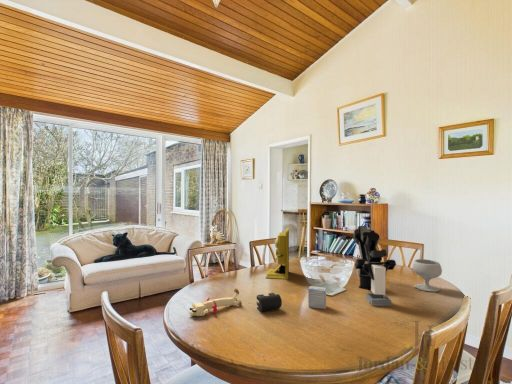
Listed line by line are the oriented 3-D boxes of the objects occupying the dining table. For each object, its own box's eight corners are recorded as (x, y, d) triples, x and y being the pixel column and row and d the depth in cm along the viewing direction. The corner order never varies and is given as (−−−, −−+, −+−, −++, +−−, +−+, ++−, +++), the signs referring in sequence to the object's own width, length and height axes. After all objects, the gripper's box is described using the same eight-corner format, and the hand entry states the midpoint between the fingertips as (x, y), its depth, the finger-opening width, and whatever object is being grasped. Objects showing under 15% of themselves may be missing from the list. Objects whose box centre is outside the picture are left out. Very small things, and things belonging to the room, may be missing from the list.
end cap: (261, 314, 123) (261, 299, 123) (255, 308, 130) (255, 293, 130) (281, 311, 127) (282, 296, 127) (275, 305, 133) (275, 291, 133)
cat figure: (232, 303, 139) (184, 312, 124) (233, 285, 139) (186, 292, 124) (243, 310, 131) (194, 320, 116) (245, 291, 131) (196, 299, 116)
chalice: (414, 290, 153) (414, 263, 153) (410, 283, 166) (411, 257, 166) (444, 294, 148) (444, 266, 148) (438, 286, 161) (438, 260, 161)
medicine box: (326, 305, 133) (326, 287, 133) (325, 309, 128) (325, 290, 128) (309, 303, 135) (309, 285, 135) (308, 307, 131) (308, 288, 131)
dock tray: (366, 298, 142) (366, 292, 142) (383, 299, 141) (384, 293, 141) (372, 305, 133) (372, 299, 133) (391, 306, 132) (391, 300, 132)
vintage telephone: (269, 267, 198) (269, 225, 198) (289, 268, 196) (289, 225, 196) (264, 281, 167) (264, 231, 167) (287, 283, 165) (288, 232, 165)
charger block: (371, 290, 140) (371, 264, 139) (381, 290, 139) (381, 264, 139) (374, 294, 135) (374, 267, 134) (385, 294, 134) (385, 267, 134)
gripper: (356, 243, 141) (363, 271, 130) (394, 243, 140) (404, 272, 129) (352, 254, 149) (358, 282, 138) (388, 255, 148) (397, 283, 137)
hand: (379, 280), depth 136 cm, fingers closed on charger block, 5 cm apart
